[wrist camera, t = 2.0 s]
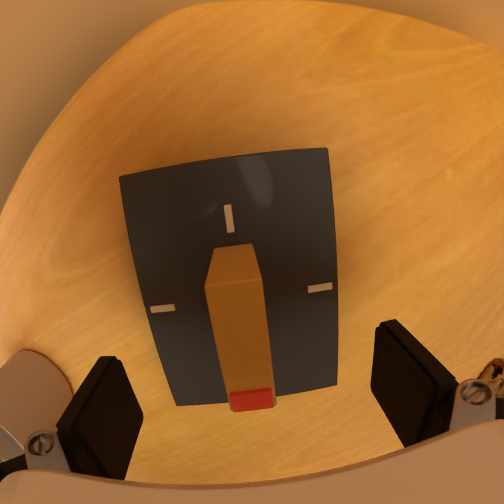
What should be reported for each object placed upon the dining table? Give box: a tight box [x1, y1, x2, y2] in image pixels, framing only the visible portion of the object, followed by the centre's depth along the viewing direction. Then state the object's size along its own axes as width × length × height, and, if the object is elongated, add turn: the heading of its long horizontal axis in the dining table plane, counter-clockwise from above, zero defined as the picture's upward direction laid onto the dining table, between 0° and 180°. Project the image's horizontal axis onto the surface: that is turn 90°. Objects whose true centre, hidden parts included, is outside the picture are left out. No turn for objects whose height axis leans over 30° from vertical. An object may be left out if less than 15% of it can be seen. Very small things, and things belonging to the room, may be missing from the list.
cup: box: [0, 351, 72, 462], centre depth 17 cm, size 7×10×9 cm
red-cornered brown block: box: [204, 243, 277, 412], centre depth 13 cm, size 6×2×6 cm, turn 7°
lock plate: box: [119, 147, 338, 406], centre depth 18 cm, size 15×11×3 cm
